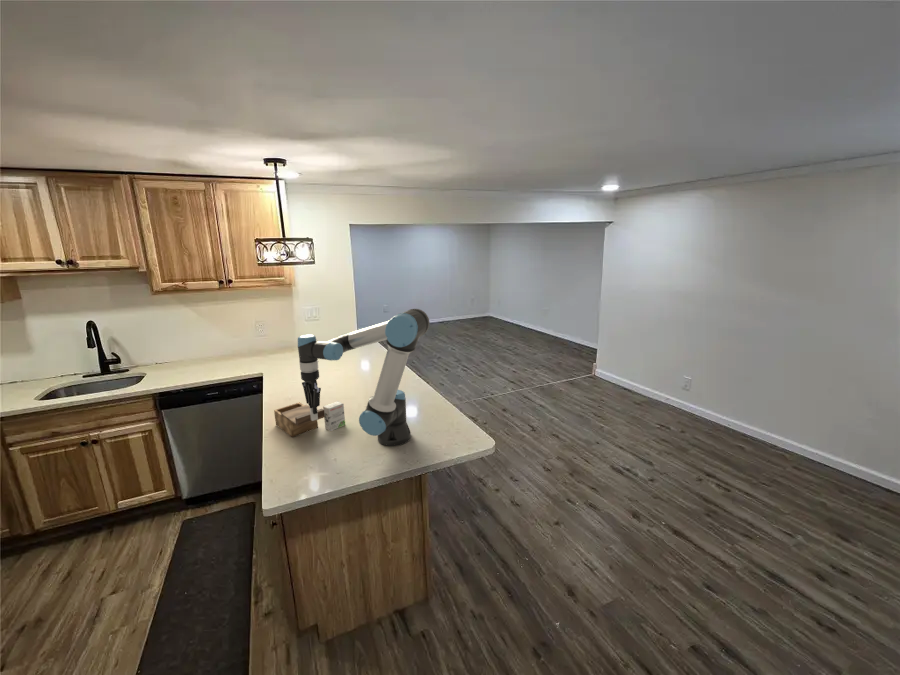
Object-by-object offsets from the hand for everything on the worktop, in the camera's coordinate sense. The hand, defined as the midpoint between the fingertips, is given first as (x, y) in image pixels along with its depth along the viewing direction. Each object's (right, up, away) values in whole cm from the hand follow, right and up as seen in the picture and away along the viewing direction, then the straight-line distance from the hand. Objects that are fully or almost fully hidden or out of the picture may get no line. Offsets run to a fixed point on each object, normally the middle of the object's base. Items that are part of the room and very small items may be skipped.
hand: (314, 419), depth 180 cm
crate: (-14, -7, +16) cm, 23 cm away
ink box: (+5, -7, +16) cm, 18 cm away
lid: (-9, 0, +9) cm, 12 cm away
